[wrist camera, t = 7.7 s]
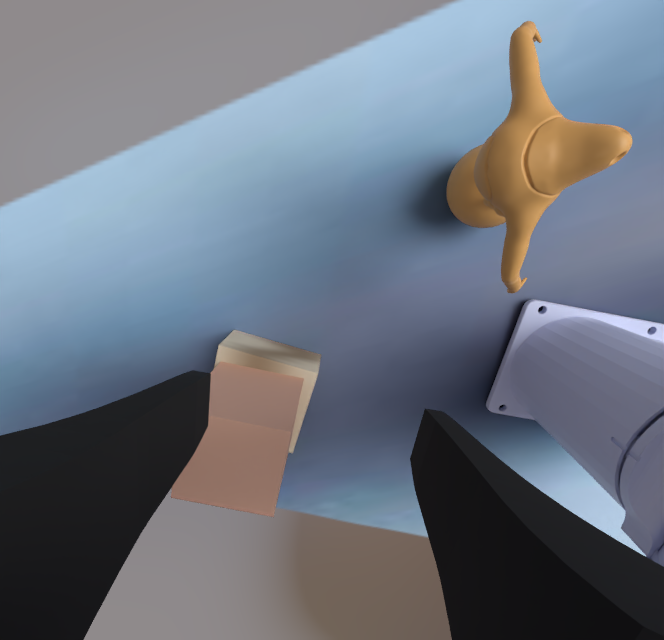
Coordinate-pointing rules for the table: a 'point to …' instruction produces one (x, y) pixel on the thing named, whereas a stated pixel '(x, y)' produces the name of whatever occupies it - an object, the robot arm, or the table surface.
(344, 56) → the table surface
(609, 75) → the table surface
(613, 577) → the robot arm
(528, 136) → the figurine
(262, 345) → the birch base block
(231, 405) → the terracotta cube
